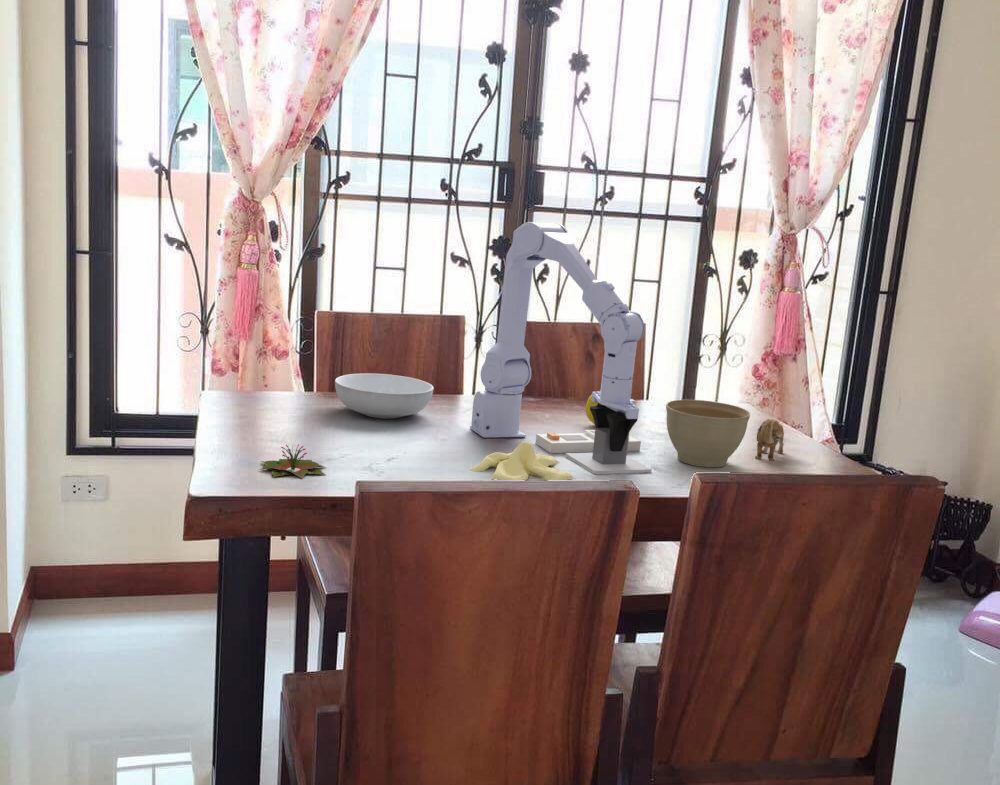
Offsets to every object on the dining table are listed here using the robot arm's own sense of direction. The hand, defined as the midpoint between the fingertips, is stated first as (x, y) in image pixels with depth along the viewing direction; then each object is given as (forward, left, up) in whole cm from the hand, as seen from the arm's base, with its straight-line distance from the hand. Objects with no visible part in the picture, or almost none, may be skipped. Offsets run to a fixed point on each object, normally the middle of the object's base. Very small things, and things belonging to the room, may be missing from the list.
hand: (609, 447), depth 190 cm
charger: (0, 0, -3) cm, 3 cm away
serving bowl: (-32, +42, -4) cm, 53 cm away
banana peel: (-20, -2, -4) cm, 21 cm away
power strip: (+2, +12, -3) cm, 13 cm away
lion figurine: (+39, +2, -4) cm, 39 cm away
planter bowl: (+21, 0, -4) cm, 21 cm away
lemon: (+13, +29, -3) cm, 32 cm away
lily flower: (-59, +3, -4) cm, 59 cm away
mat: (0, 0, -3) cm, 3 cm away
